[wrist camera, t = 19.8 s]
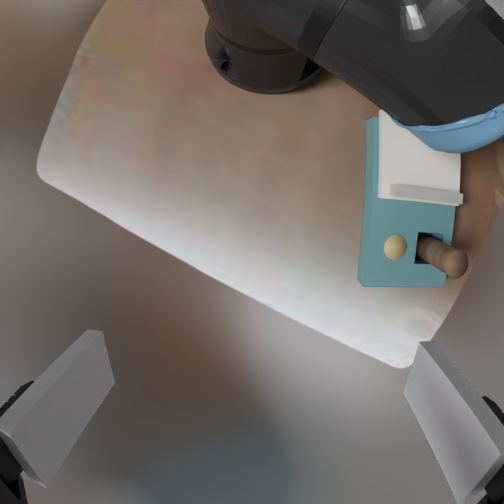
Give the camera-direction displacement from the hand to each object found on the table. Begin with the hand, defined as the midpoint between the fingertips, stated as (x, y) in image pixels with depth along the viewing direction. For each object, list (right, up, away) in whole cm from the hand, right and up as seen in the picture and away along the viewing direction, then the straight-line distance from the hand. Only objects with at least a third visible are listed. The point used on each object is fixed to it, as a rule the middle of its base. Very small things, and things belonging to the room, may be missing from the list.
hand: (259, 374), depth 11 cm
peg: (+22, +6, +25) cm, 34 cm away
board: (+19, +11, +24) cm, 33 cm away
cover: (+19, +15, +19) cm, 31 cm away
